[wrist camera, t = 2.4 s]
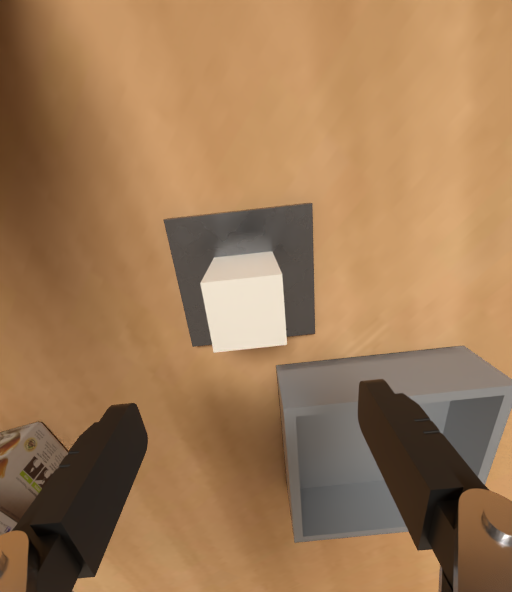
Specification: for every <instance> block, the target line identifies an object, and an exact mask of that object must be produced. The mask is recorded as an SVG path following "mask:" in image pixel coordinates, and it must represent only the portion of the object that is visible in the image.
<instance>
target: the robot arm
mask: <svg viewBox="0 0 512 592" xmlns="http://www.w3.org/2000/svg"><path fill="white" fill-rule="evenodd" d="M358 421H359V426H360V429H361V432H362V434H363V436H364V438H365V440H366V442H367V445H368V447H369V449H370V451H371V453H372V455H373V457H374V459H375V461H376V464H377V466H378V468H379V470H380V472H381V474H382V476H383V478H384V480H385V483H386V485H387V487H388V489H389V491H390V493H391V495H392V497H393V499H394V502H395V504H396V506H397V508H398V510H399V512H400V514H401V516H402V518H403V520H404V523H405V525H406V527H407V529H408V531H409V533H410V535H411V537H412V539H413V542H414V544H415V546H416V548H417V550H429V549H433V551H434V553H435V555H436V557H437V559H438V561H439V563H440V565H441V566H440V574H439V592H512V501H510V500H509V499H507V498H505V497H503V496H501V495H499V494H497V493H495V492H492V491H490V490H489V489H488V488H487V487H486V486H485V485H484V484H483V483H482V482H481V480H480V479H479V478H478V477H477V475H476V474H475V473H474V472H473V471H472V469H471V468H470V467H469V466H468V464H467V463H466V462H465V461H464V459H463V458H462V457H461V456H460V455H459V453H458V452H457V451H456V450H455V448H454V447H453V446H452V445H451V443H450V442H449V441H448V440H447V439H446V437H445V436H444V435H443V434H442V433H440V431H439V429H438V428H437V426H436V425H435V424H434V423H433V421H430V418H429V416H428V415H427V414H426V413H425V412H424V410H423V409H422V408H421V407H420V405H419V404H418V403H416V402H415V401H413V400H412V399H411V398H409V397H408V396H406V395H405V394H403V393H397V394H395V393H394V392H393V390H392V389H391V388H390V386H389V385H388V384H387V382H386V381H385V380H384V379H375V380H365V381H360V383H359V395H358ZM147 443H148V437H147V432H146V429H145V427H144V424H143V421H142V418H141V415H140V412H139V410H138V407H137V405H136V404H135V403H129V404H119V405H112V406H110V407H109V408H108V409H107V411H106V412H105V414H104V415H103V417H102V418H101V420H100V421H99V422H96V423H94V424H93V425H92V426H90V427H89V428H88V429H87V430H86V431H85V432H84V433H83V434H82V435H80V436H79V438H78V439H77V441H76V442H75V443H74V445H73V446H72V448H71V449H70V450H69V453H68V455H66V456H65V457H64V459H63V460H62V462H61V463H60V464H59V468H58V469H56V470H55V471H54V473H53V474H52V476H51V477H50V478H49V480H48V481H47V483H46V484H45V485H44V487H43V488H42V490H41V491H40V492H39V494H38V495H37V497H36V498H35V499H34V501H33V502H32V504H31V505H30V506H29V508H28V509H27V511H26V512H25V513H24V515H23V516H22V518H21V519H20V520H19V522H18V523H17V525H16V526H15V527H14V528H13V530H12V531H11V532H7V533H5V534H2V535H0V592H72V589H73V587H74V585H75V583H76V581H77V578H87V577H95V575H96V573H97V570H98V568H99V565H100V563H101V561H102V558H103V556H104V553H105V551H106V548H107V546H108V543H109V541H110V539H111V536H112V534H113V531H114V529H115V526H116V524H117V521H118V519H119V517H120V514H121V512H122V509H123V507H124V504H125V502H126V499H127V497H128V495H129V492H130V490H131V487H132V485H133V482H134V480H135V478H136V475H137V473H138V470H139V468H140V465H141V463H142V460H143V458H144V456H145V453H146V450H147Z"/></svg>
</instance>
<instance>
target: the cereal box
mask: <svg viewBox="0 0 512 592" xmlns="http://www.w3.org/2000/svg"><path fill="white" fill-rule="evenodd" d="M66 455H68V452H67V451H66V450H65V449H64V447H63V446H62V445H61V444H60V443H59V442H58V441H57V439H56V438H55V437H54V436H53V435H52V434H51V433H50V432H49V431H48V429H47V428H46V427H45V426H44V425H43V424H42V423H41V422H36V423H33V424H29V425H25V426H22V427H18V428H15V429H11V430H8V431H4V432H0V535H2V534H5V533H7V532H11V531H12V530H13V528H14V527H15V526H16V525H17V523H18V522H19V520H20V519H21V518H22V516H23V515H24V513H25V512H26V511H27V509H28V508H29V506H30V505H31V504H32V502H33V501H34V499H35V498H36V497H37V495H38V494H39V492H40V491H41V490H42V488H43V487H44V485H45V484H46V483H47V481H48V480H49V478H50V477H51V476H52V474H53V473H54V471H55V470H56V469H58V468H59V464H60V463H61V462H62V460H63V459H64V457H65V456H66Z"/></svg>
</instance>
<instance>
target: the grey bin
mask: <svg viewBox="0 0 512 592" xmlns="http://www.w3.org/2000/svg"><path fill="white" fill-rule="evenodd" d="M276 370H277V381H278V392H279V403H280V414H281V425H282V436H283V447H284V458H285V469H286V481H287V490H288V497H289V505H290V512H291V520H292V527H293V534H294V542H295V543H297V542H307V541H317V540H327V539H337V538H348V537H358V536H368V535H378V534H388V533H399V532H409V531H408V529H407V527H406V525H405V523H404V520H403V518H402V516H401V514H400V512H399V510H398V508H397V506H396V504H395V502H394V499H393V497H392V495H391V493H390V491H389V489H388V487H387V485H386V483H385V480H384V478H383V476H382V474H381V472H380V470H379V468H378V466H377V464H376V461H375V459H374V457H373V455H372V453H371V451H370V449H369V447H368V445H367V442H366V440H365V438H364V436H363V434H362V432H361V429H360V426H359V421H358V395H359V383H360V381H365V380H375V379H384V380H385V381H386V382H387V384H388V385H389V386H390V388H391V389H392V390H393V392H394V393H395V394H397V393H403V394H405V395H406V396H408V397H409V398H411V399H412V400H413V401H415V402H416V403H418V404H419V405H420V407H421V408H422V409H423V410H424V412H425V413H426V414H427V415H428V416H429V418H430V421H433V423H434V424H435V425H436V426H437V428H438V429H439V431H440V433H442V434H443V435H444V436H445V437H446V439H447V440H448V441H449V442H450V443H451V445H452V446H453V447H454V448H455V450H456V451H457V452H458V453H459V455H460V456H461V457H462V458H463V459H464V461H465V462H466V463H467V464H468V466H469V467H470V468H471V469H472V471H473V472H474V473H475V474H476V475H477V477H478V478H479V479H480V480H481V482H482V483H483V484H484V485H485V483H486V480H487V477H488V474H489V471H490V468H491V465H492V463H493V460H494V457H495V454H496V451H497V448H498V445H499V442H500V440H501V437H502V434H503V431H504V428H505V425H506V422H507V419H508V416H509V414H510V411H511V408H512V379H511V378H509V377H508V376H506V375H505V374H504V373H502V372H501V371H499V370H498V369H496V368H495V367H493V366H492V365H491V364H489V363H488V362H486V361H485V360H483V359H482V358H481V357H479V356H478V355H476V354H475V353H473V352H472V351H471V350H469V349H468V348H466V347H465V346H456V347H446V348H437V349H427V350H418V351H408V352H399V353H389V354H380V355H370V356H361V357H351V358H342V359H332V360H323V361H313V362H304V363H294V364H285V365H276Z"/></svg>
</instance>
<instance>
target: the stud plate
mask: <svg viewBox="0 0 512 592" xmlns="http://www.w3.org/2000/svg"><path fill="white" fill-rule="evenodd" d="M164 223H165V228H166V232H167V236H168V241H169V245H170V250H171V254H172V258H173V263H174V267H175V271H176V276H177V280H178V284H179V289H180V293H181V298H182V302H183V306H184V311H185V315H186V319H187V324H188V328H189V333H190V337H191V341H192V346H193V347H194V346H203V345H212V341H211V336H210V330H209V325H208V320H207V315H206V310H205V305H204V300H203V295H202V289H201V284H200V283H201V281H202V279H203V277H204V275H205V273H206V272H207V270H208V268H209V266H210V264H211V262H212V260H213V258H215V257H224V256H233V255H242V254H251V253H260V252H270V251H272V252H273V254H274V256H275V259H276V261H277V263H278V266H279V268H280V270H281V272H282V278H283V292H284V307H285V321H286V336H287V337H288V336H297V335H307V334H315V310H314V263H313V216H312V203H304V204H295V205H286V206H277V207H268V208H259V209H250V210H241V211H232V212H223V213H214V214H205V215H196V216H187V217H178V218H169V219H165V220H164Z"/></svg>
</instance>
